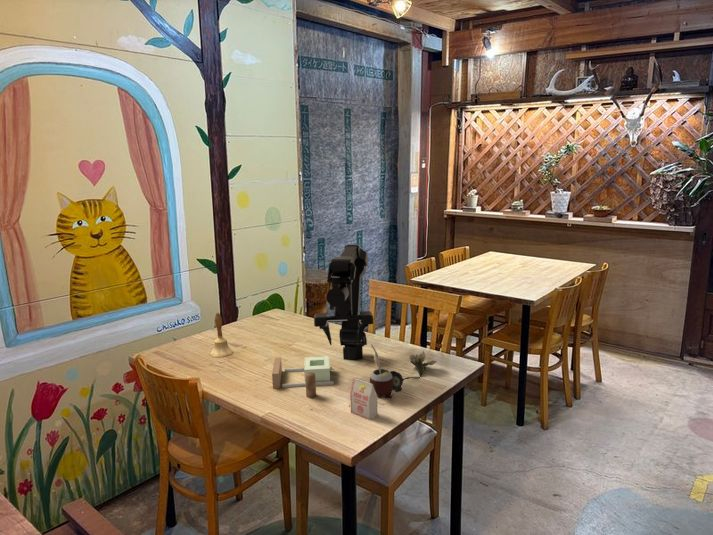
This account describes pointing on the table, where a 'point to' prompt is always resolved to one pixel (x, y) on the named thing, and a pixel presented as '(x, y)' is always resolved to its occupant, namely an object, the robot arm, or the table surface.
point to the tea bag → (363, 399)
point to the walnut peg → (310, 385)
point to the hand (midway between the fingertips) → (344, 343)
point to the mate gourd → (382, 380)
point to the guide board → (278, 371)
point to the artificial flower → (418, 364)
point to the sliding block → (318, 368)
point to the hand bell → (220, 341)
